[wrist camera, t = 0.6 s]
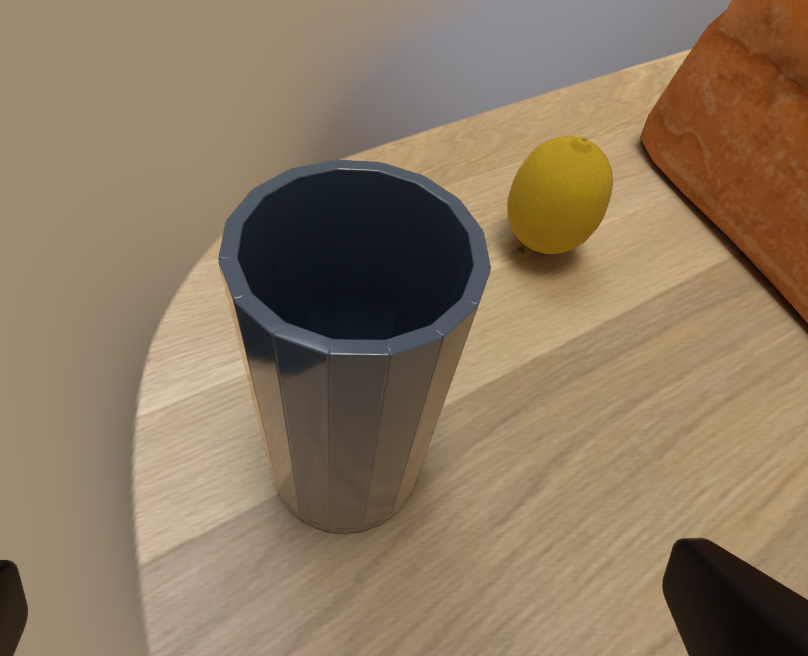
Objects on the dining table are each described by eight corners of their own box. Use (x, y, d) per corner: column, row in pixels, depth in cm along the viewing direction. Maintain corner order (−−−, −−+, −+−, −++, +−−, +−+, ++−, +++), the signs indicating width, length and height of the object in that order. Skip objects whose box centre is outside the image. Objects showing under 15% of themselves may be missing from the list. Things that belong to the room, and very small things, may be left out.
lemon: (540, 294, 32) (592, 188, 26) (476, 238, 34) (509, 128, 28) (596, 255, 35) (657, 150, 28) (533, 206, 37) (575, 97, 30)
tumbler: (423, 531, 23) (509, 357, 12) (265, 535, 23) (199, 353, 11) (413, 394, 27) (471, 166, 16) (278, 394, 26) (238, 153, 15)
